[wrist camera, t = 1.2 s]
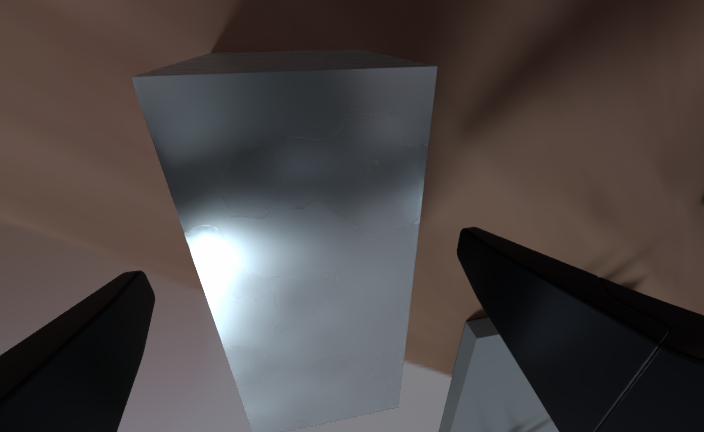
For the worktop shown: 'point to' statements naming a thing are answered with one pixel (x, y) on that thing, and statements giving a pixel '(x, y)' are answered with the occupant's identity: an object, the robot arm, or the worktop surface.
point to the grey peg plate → (490, 388)
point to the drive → (300, 217)
